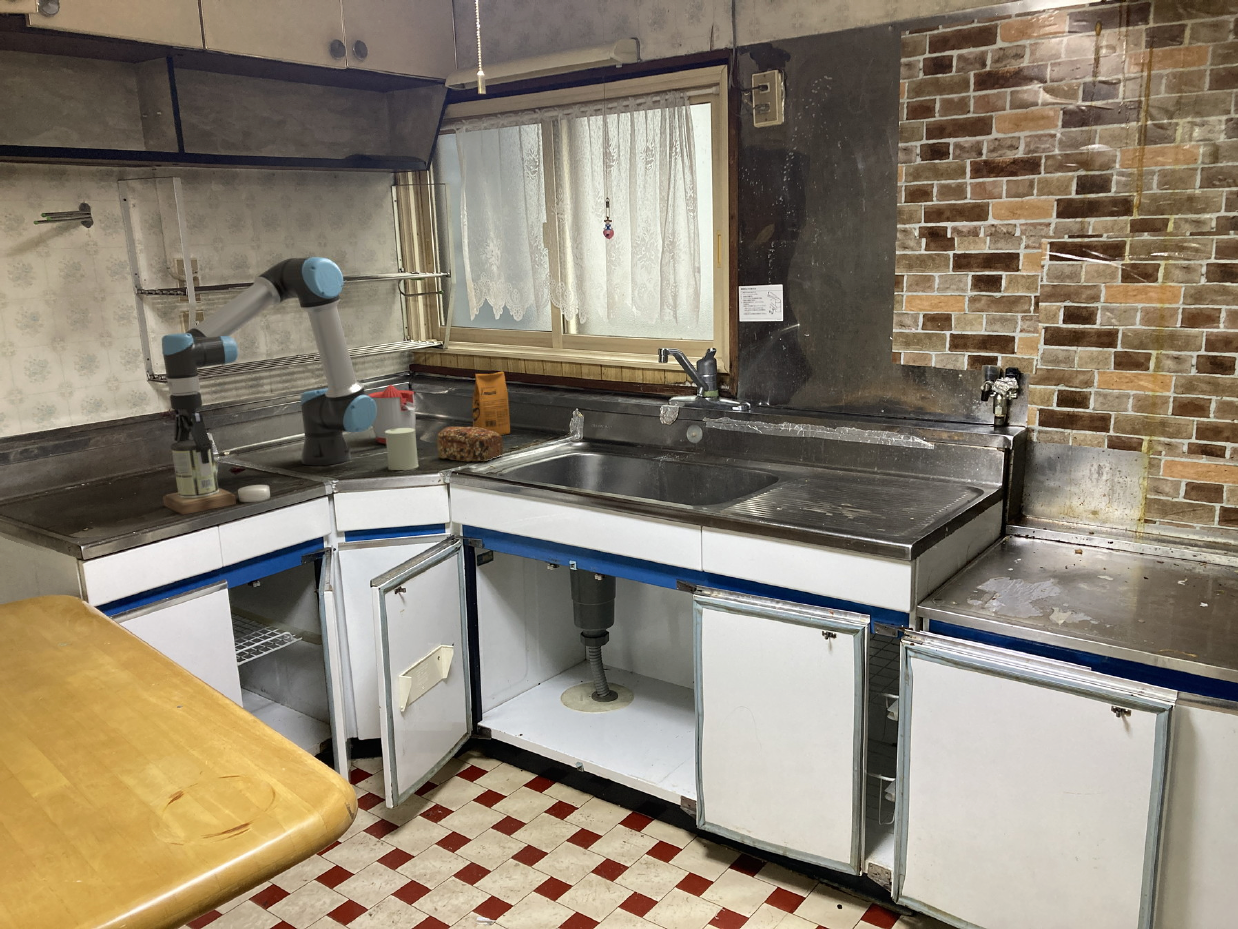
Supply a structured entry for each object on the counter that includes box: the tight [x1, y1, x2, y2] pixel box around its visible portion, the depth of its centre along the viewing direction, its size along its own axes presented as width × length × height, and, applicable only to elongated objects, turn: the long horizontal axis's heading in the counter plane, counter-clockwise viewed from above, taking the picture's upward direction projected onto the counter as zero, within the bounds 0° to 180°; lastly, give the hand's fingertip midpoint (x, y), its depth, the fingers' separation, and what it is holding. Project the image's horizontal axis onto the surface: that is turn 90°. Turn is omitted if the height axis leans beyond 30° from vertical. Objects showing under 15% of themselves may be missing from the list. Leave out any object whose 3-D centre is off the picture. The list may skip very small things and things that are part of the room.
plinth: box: [162, 487, 237, 516], centre depth 261 cm, size 14×14×3 cm
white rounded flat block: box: [237, 484, 271, 503], centre depth 266 cm, size 8×8×3 cm
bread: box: [436, 426, 504, 462], centre depth 307 cm, size 19×11×10 cm, turn 63°
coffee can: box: [170, 438, 219, 499], centre depth 259 cm, size 10×10×14 cm
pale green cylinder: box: [385, 428, 420, 471], centre depth 297 cm, size 9×9×12 cm
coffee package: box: [472, 371, 511, 436], centre depth 343 cm, size 10×12×22 cm
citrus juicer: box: [367, 384, 417, 445], centre depth 336 cm, size 16×17×20 cm
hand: (196, 471), depth 260 cm, fingers open, 13 cm apart
